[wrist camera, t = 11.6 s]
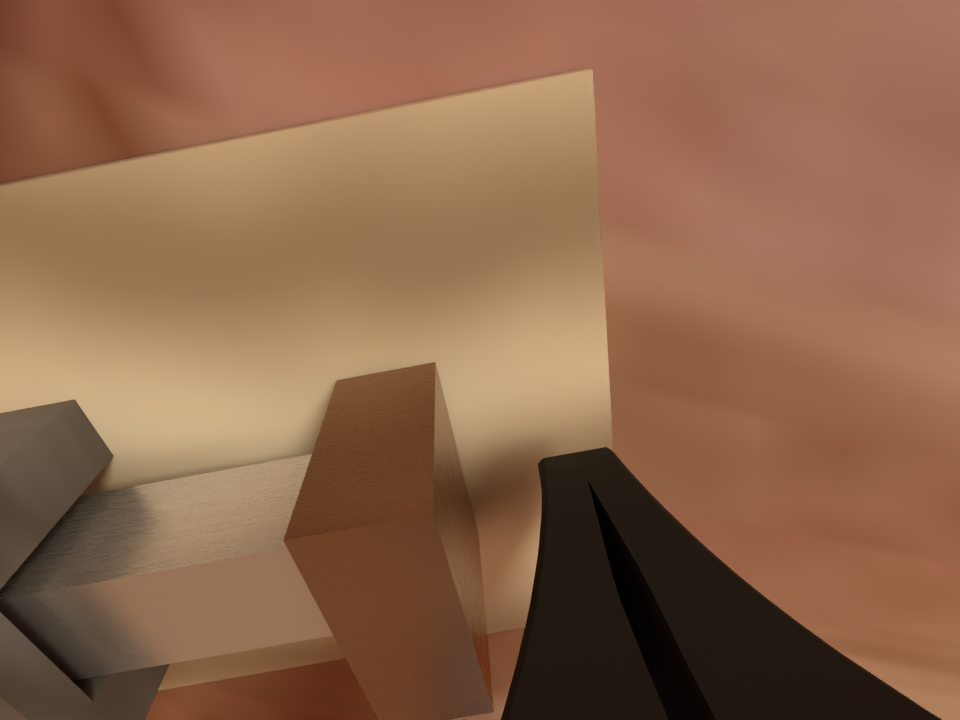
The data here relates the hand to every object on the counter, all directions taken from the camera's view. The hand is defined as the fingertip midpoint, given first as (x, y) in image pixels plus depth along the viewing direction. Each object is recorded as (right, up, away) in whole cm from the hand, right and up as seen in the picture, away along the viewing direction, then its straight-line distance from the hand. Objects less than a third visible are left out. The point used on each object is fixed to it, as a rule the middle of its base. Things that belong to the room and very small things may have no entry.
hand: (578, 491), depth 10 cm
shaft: (-7, 0, +2) cm, 7 cm away
